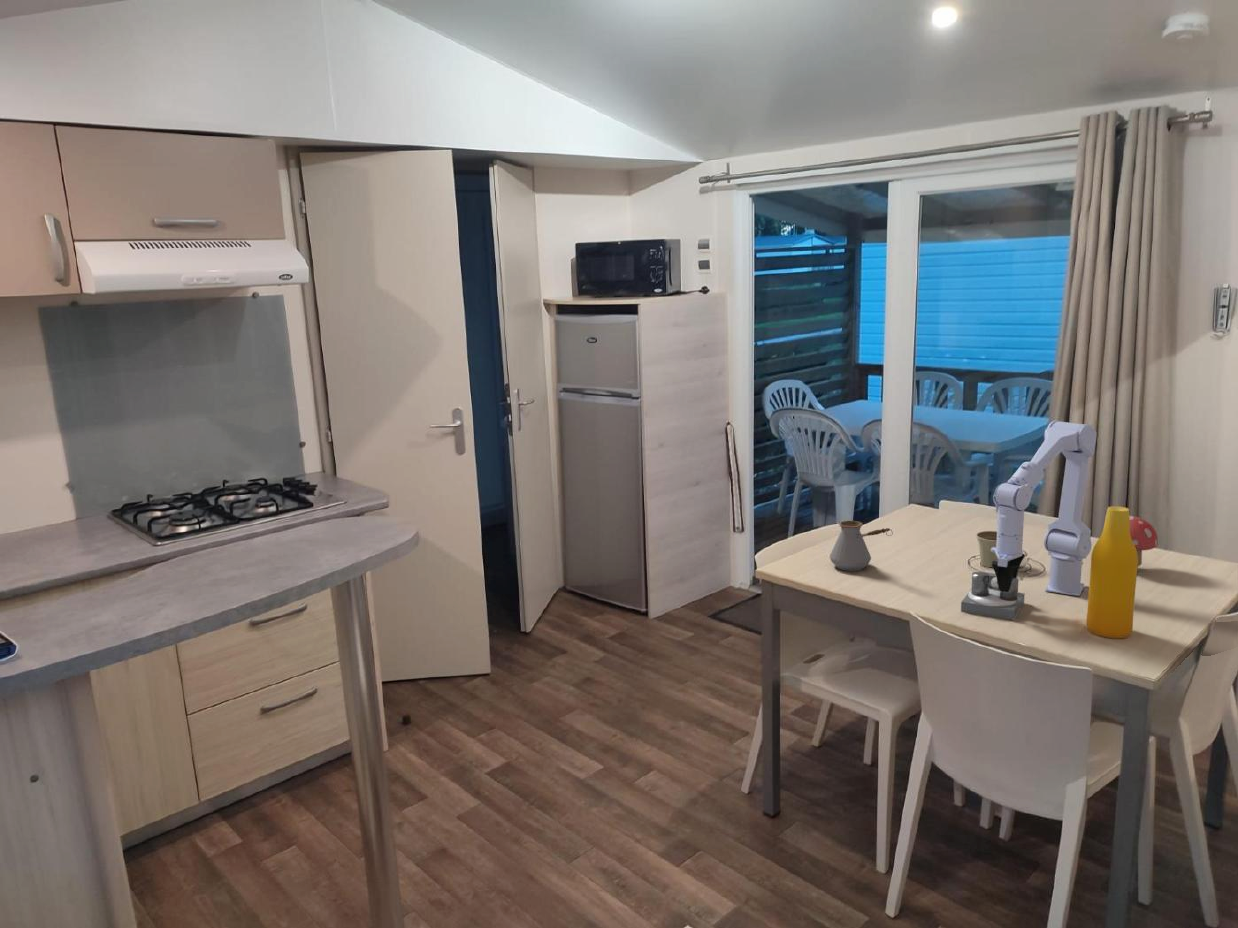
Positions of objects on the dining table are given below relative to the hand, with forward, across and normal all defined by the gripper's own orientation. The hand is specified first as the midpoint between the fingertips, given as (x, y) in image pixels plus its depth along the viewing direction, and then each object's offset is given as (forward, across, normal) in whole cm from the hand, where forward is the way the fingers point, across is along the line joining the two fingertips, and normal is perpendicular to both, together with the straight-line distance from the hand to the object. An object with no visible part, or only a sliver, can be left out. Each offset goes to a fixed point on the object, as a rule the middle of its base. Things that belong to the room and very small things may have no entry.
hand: (1007, 586), depth 213 cm
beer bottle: (+6, +2, +22) cm, 23 cm away
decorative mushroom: (+6, -46, +22) cm, 51 cm away
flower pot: (+6, -34, -10) cm, 36 cm away
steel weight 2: (+3, 0, 0) cm, 3 cm away
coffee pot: (+6, -12, -40) cm, 42 cm away
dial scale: (+6, -1, -3) cm, 7 cm away
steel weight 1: (+3, 0, -6) cm, 7 cm away
